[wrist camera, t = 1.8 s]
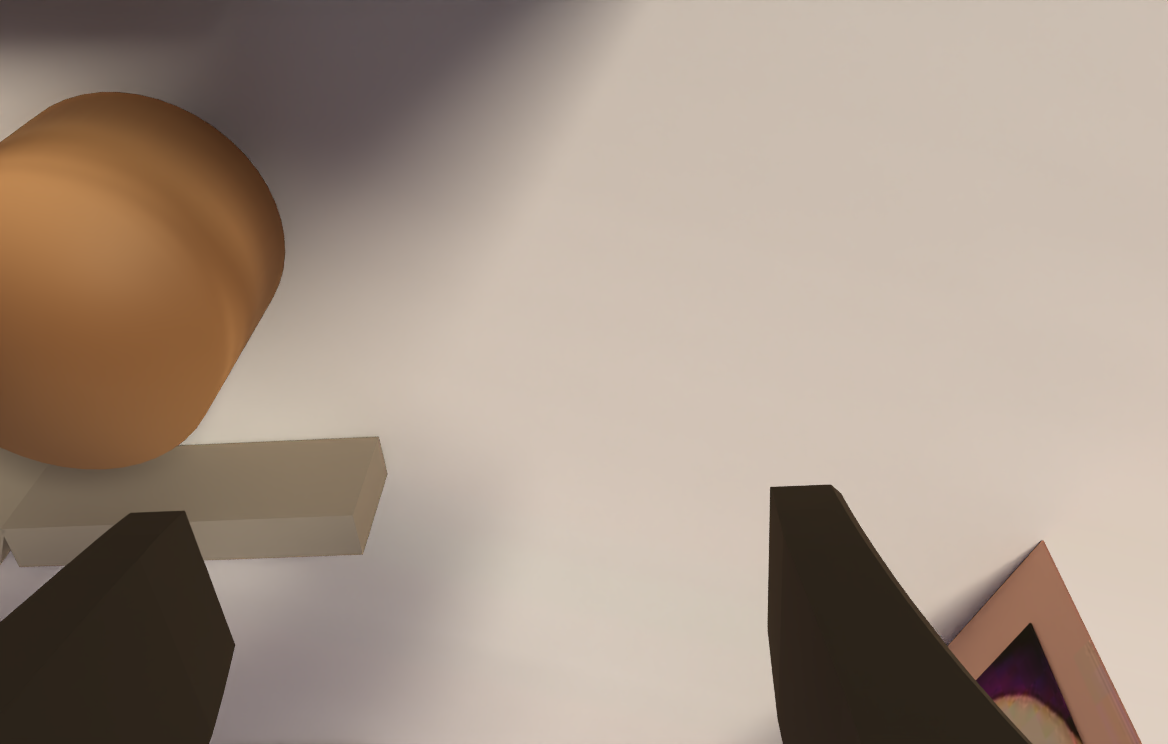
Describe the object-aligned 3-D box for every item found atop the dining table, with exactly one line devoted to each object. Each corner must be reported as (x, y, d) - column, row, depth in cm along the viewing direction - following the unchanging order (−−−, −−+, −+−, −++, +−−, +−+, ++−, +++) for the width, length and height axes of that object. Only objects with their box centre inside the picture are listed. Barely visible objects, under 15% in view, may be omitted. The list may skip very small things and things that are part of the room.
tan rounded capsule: (312, 338, 21) (253, 462, 18) (61, 351, 21) (-43, 475, 18) (246, 81, 18) (159, 170, 15) (-42, 100, 19) (-189, 192, 15)
